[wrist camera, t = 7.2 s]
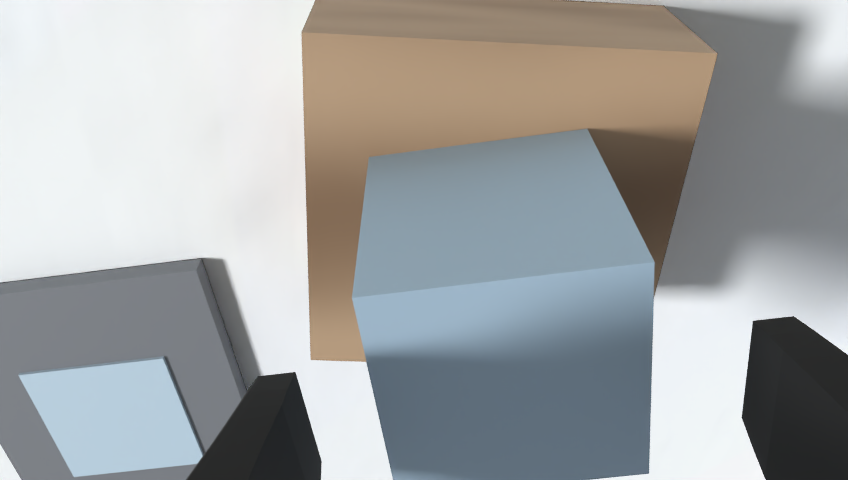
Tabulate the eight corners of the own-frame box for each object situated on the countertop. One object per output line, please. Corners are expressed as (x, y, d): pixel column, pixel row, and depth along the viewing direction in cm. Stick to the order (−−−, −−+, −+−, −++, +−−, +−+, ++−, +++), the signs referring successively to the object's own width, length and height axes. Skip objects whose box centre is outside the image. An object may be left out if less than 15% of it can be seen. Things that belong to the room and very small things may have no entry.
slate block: (591, 306, 18) (648, 473, 13) (401, 328, 18) (397, 499, 14) (587, 128, 15) (654, 262, 11) (368, 156, 16) (351, 298, 11)
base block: (599, 279, 22) (634, 370, 19) (325, 269, 22) (310, 359, 18) (659, 1, 18) (717, 53, 15) (322, -17, 18) (301, 32, 14)
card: (283, 497, 26) (280, 514, 26) (61, 520, 27) (53, 537, 26) (201, 258, 21) (195, 272, 20) (-72, 292, 22) (-86, 306, 21)
